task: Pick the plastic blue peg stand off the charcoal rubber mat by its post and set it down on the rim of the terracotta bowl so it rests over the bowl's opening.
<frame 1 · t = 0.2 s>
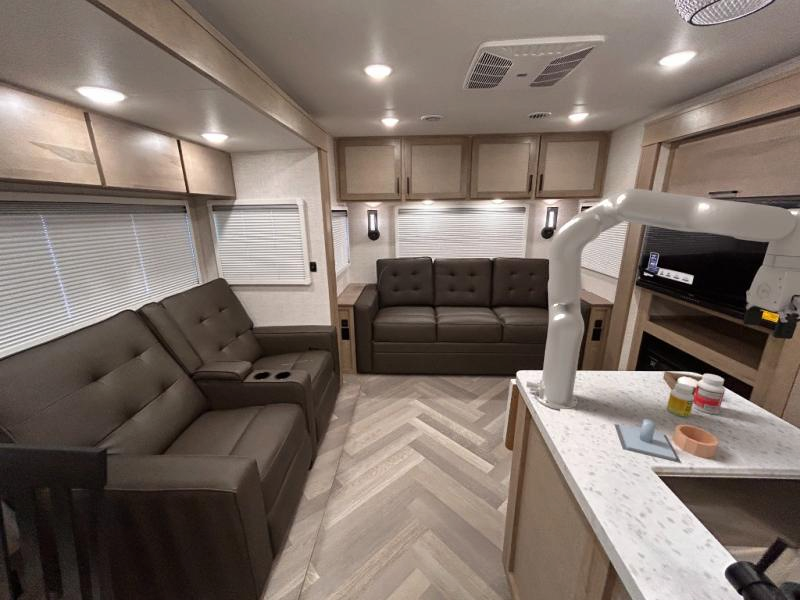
hand: (765, 330, 78), 31 cm above the countertop, fingers open, 9 cm apart
pill bottle: (704, 409, 98), on the countertop
garlic: (687, 389, 110), resting in garlic corral
garlic corral: (687, 388, 110), on the countertop
mat: (644, 444, 83), on the countertop
supplement bottle: (677, 414, 96), on the countertop
blue peg stand: (645, 441, 83), point 1 cm above the countertop, touching mat
bowl: (692, 448, 81), on the countertop
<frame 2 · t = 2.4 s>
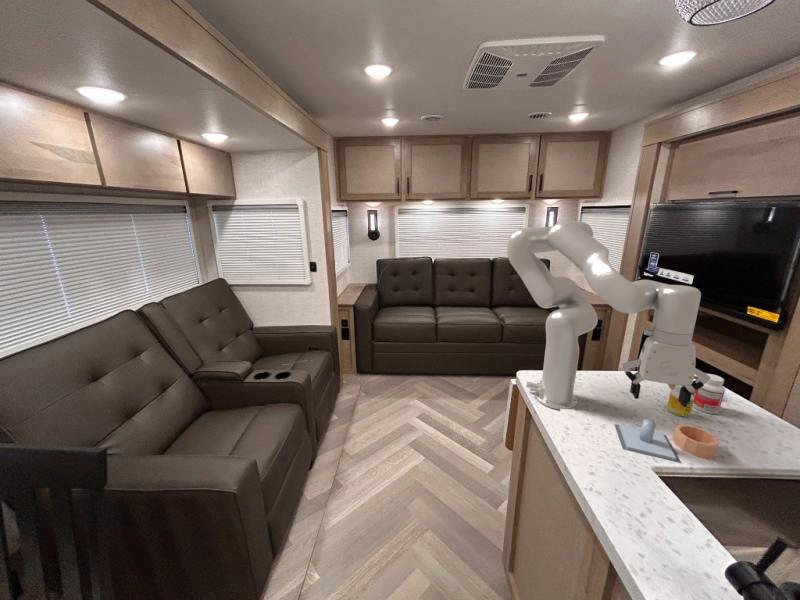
hand: (658, 400, 79), 14 cm above the countertop, fingers open, 9 cm apart
garlic: (688, 389, 110), resting in garlic corral
everything else where it was.
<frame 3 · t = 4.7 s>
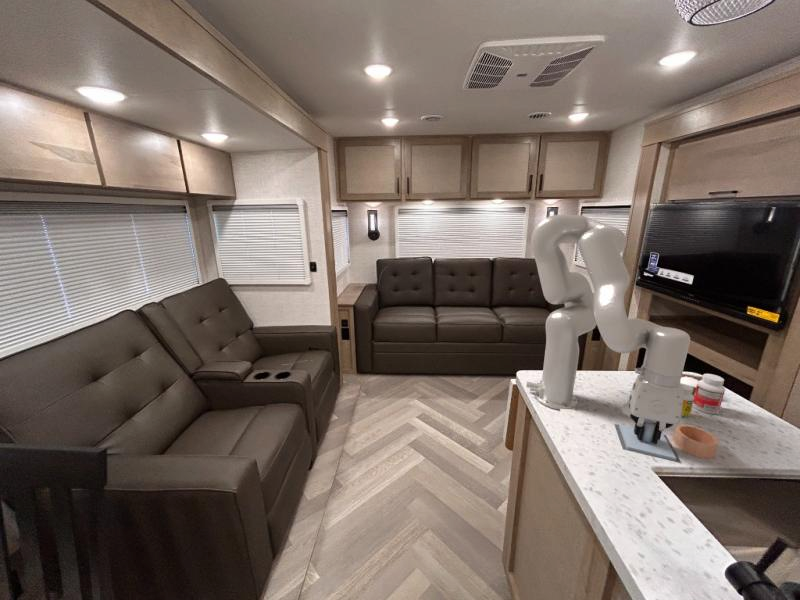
hand: (645, 438, 83), 2 cm above the countertop, fingers closed on blue peg stand, 2 cm apart
garlic: (689, 389, 110), resting in garlic corral
blue peg stand: (645, 441, 83), point 1 cm above the countertop, touching gripper, mat
everything else where it was.
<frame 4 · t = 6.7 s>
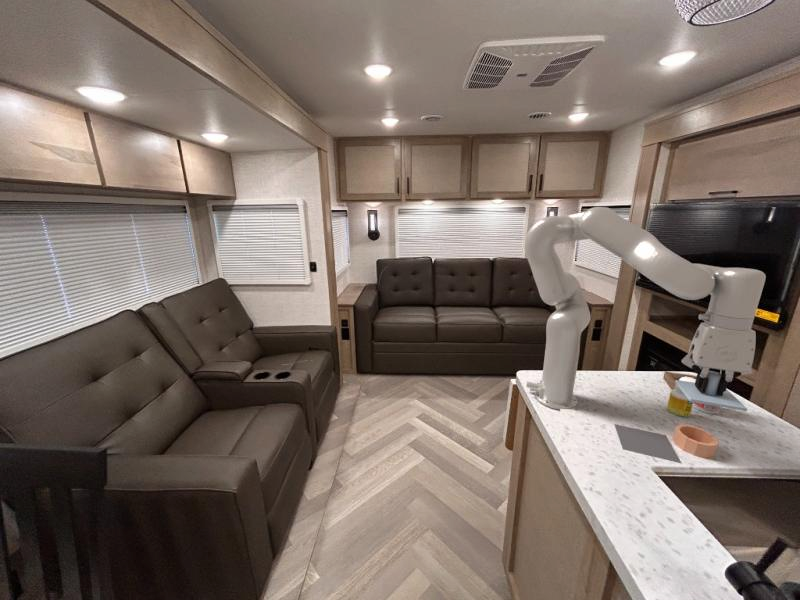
hand: (708, 391, 77), 17 cm above the countertop, fingers closed on blue peg stand, 2 cm apart
blue peg stand: (707, 395, 77), point 16 cm above the countertop, touching gripper
everything else where it was.
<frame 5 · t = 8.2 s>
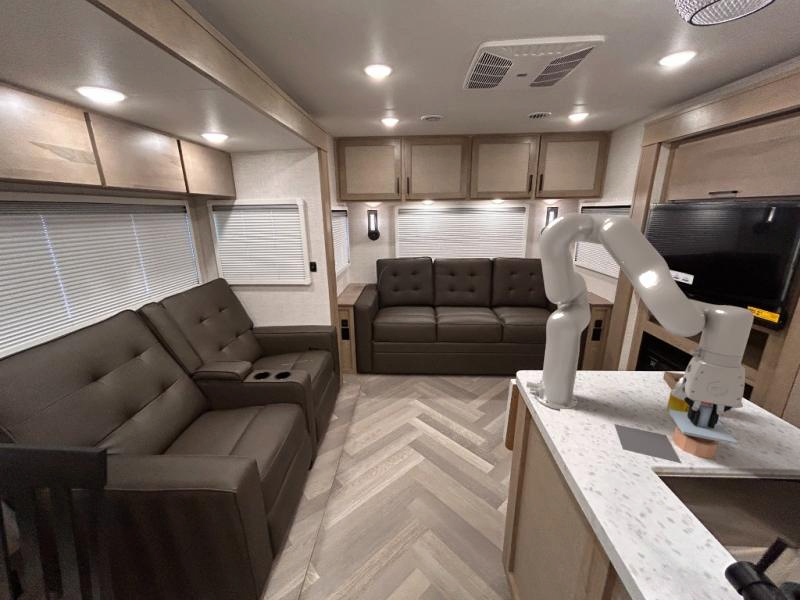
hand: (700, 422, 79), 8 cm above the countertop, fingers closed on blue peg stand, 2 cm apart
blue peg stand: (699, 426, 79), point 7 cm above the countertop, touching gripper
everything else where it was.
when the fingers open (7 cm above the countertop, at t = 9.1 s): blue peg stand drops 1 cm, resting on bowl.
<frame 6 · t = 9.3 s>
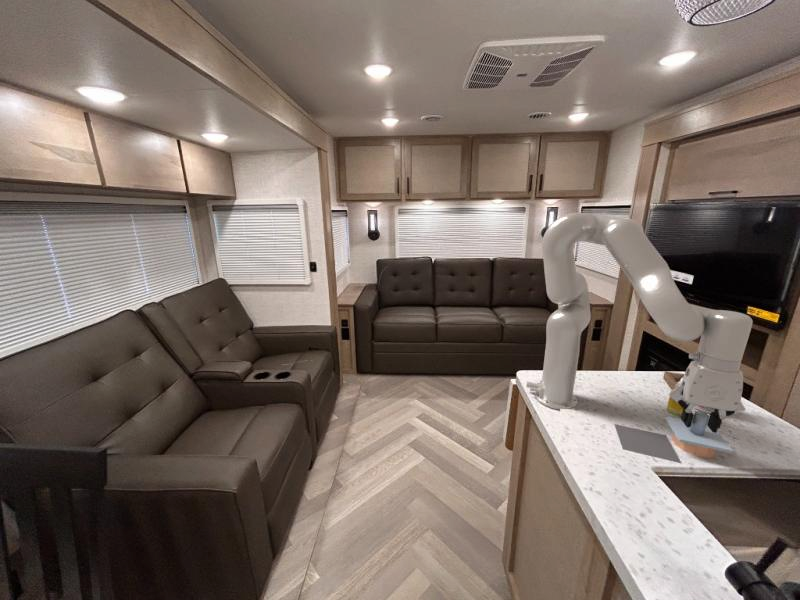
hand: (698, 426, 80), 7 cm above the countertop, fingers open, 4 cm apart
blue peg stand: (696, 434, 80), point 4 cm above the countertop, touching bowl
everything else where it was.
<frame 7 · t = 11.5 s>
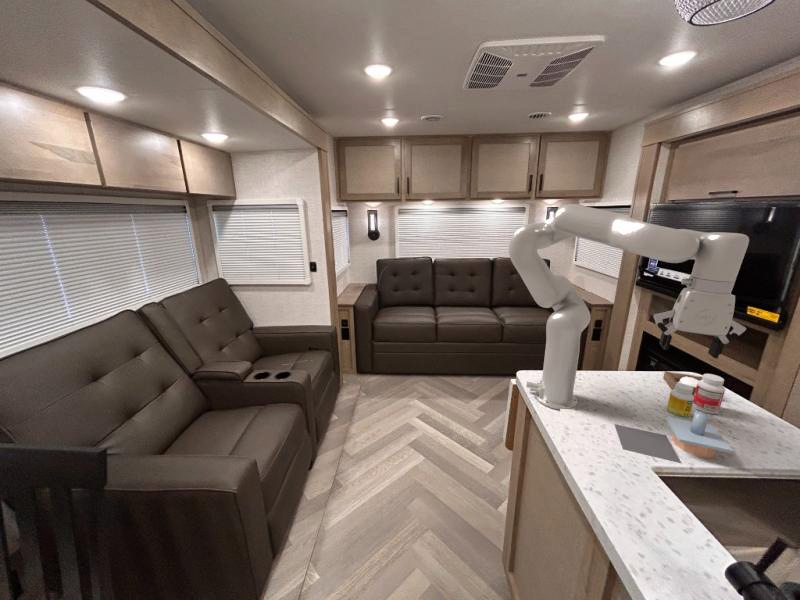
hand: (687, 351, 78), 26 cm above the countertop, fingers open, 9 cm apart
nothing on the countertop moved.
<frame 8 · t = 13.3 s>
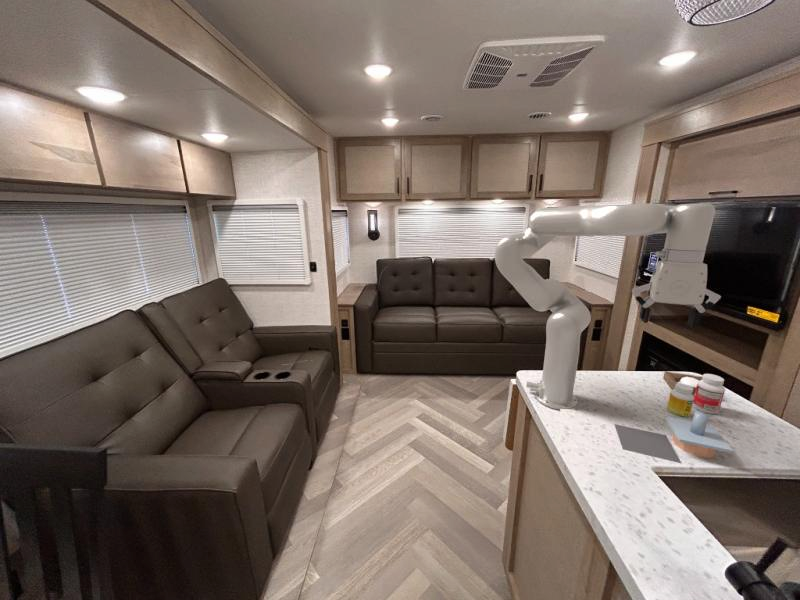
hand: (667, 323, 80), 32 cm above the countertop, fingers open, 9 cm apart
nothing on the countertop moved.
at the end: blue peg stand 0.1 cm off-centre on the bowl, point 4.4 cm above the bowl's base; blue peg stand tilted 0°; the gripper is holding nothing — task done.
